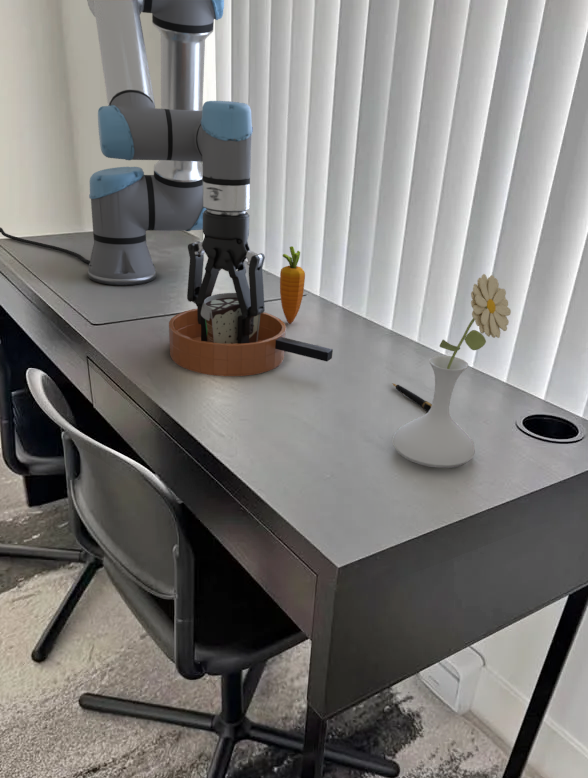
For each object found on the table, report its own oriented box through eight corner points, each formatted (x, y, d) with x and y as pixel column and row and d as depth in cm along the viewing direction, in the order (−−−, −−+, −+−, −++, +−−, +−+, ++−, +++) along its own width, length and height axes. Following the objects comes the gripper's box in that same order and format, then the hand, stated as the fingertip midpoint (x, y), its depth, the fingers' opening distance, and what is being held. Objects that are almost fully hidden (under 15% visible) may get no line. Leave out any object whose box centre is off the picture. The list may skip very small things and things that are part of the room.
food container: (240, 341, 131) (241, 288, 126) (262, 351, 128) (264, 296, 122) (187, 355, 124) (185, 299, 118) (208, 366, 120) (208, 308, 115)
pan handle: (274, 348, 120) (274, 339, 119) (279, 345, 121) (280, 336, 121) (327, 361, 116) (327, 352, 115) (332, 358, 118) (332, 349, 117)
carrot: (299, 328, 140) (304, 252, 133) (275, 325, 141) (278, 249, 133) (304, 321, 145) (309, 246, 137) (280, 318, 145) (284, 243, 138)
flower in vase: (418, 482, 92) (452, 291, 79) (375, 442, 100) (400, 265, 87) (499, 467, 96) (544, 285, 83) (451, 430, 105) (485, 261, 92)
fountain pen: (388, 387, 118) (389, 378, 117) (393, 386, 118) (395, 377, 118) (442, 422, 107) (443, 413, 107) (448, 421, 108) (449, 412, 107)
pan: (146, 358, 122) (144, 327, 119) (211, 327, 138) (211, 299, 135) (246, 386, 115) (247, 354, 112) (303, 350, 130) (305, 321, 127)
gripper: (161, 205, 113) (166, 341, 125) (268, 223, 106) (262, 366, 118) (188, 199, 119) (190, 330, 131) (291, 216, 112) (283, 353, 124)
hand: (224, 346), depth 124 cm, fingers closed on food container, 7 cm apart
